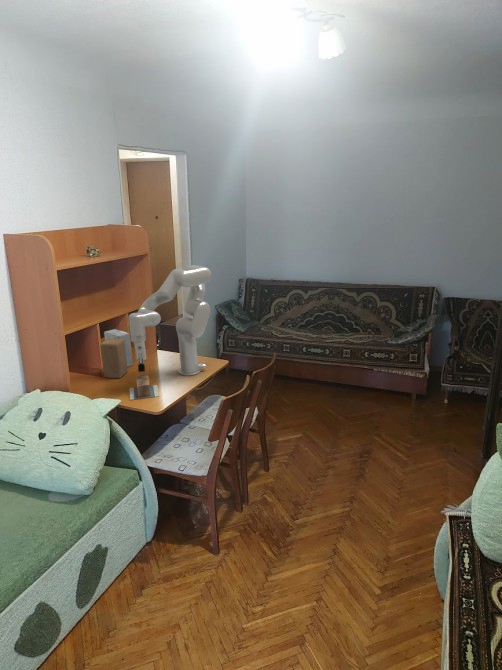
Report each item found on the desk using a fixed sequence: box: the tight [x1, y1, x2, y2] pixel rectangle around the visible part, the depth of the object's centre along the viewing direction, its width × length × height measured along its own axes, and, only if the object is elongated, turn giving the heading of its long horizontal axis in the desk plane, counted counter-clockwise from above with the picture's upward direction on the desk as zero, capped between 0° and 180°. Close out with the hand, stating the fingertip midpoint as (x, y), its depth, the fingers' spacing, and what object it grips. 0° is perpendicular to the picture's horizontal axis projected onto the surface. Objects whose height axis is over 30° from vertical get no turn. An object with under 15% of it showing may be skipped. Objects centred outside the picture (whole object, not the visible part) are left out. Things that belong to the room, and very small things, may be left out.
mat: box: [129, 384, 160, 401], centre depth 232 cm, size 14×14×1 cm
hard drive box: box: [103, 328, 133, 368], centre depth 268 cm, size 16×8×20 cm, turn 49°
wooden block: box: [99, 339, 129, 379], centre depth 253 cm, size 10×10×20 cm
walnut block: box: [135, 374, 151, 398], centre depth 232 cm, size 6×6×14 cm
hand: (141, 371), depth 236 cm, fingers closed
